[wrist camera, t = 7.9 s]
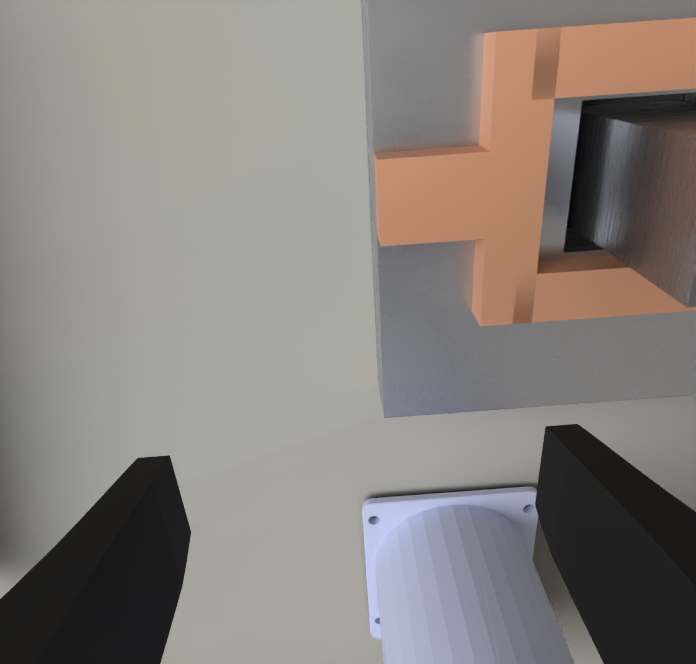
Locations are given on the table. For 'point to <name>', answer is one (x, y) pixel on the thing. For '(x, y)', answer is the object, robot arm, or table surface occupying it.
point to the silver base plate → (458, 256)
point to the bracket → (532, 170)
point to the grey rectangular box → (640, 189)
